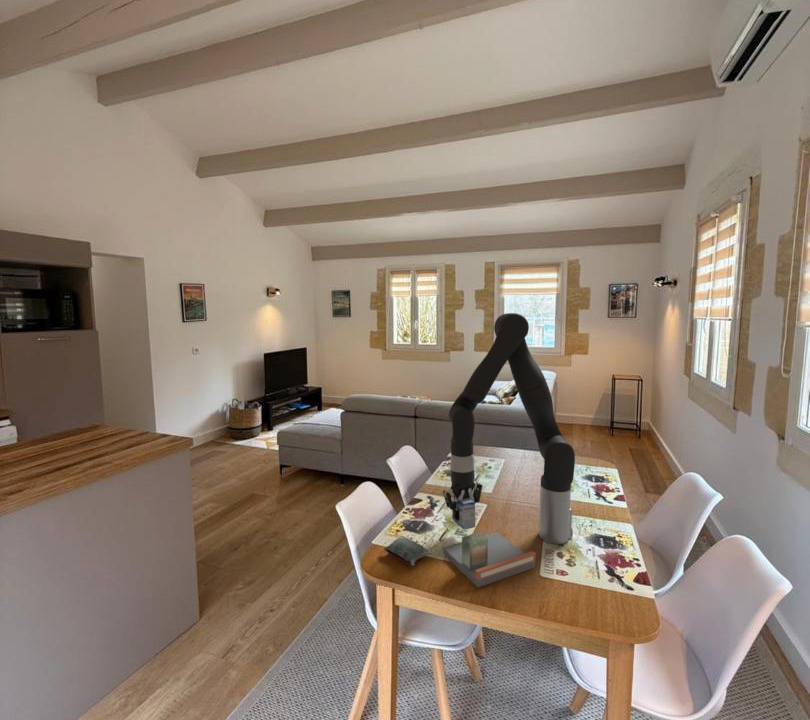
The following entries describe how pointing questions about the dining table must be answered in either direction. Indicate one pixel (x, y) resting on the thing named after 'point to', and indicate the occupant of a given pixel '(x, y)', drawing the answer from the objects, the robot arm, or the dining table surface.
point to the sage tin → (474, 551)
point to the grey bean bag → (407, 550)
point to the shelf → (493, 560)
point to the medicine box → (466, 513)
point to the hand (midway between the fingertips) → (463, 517)
